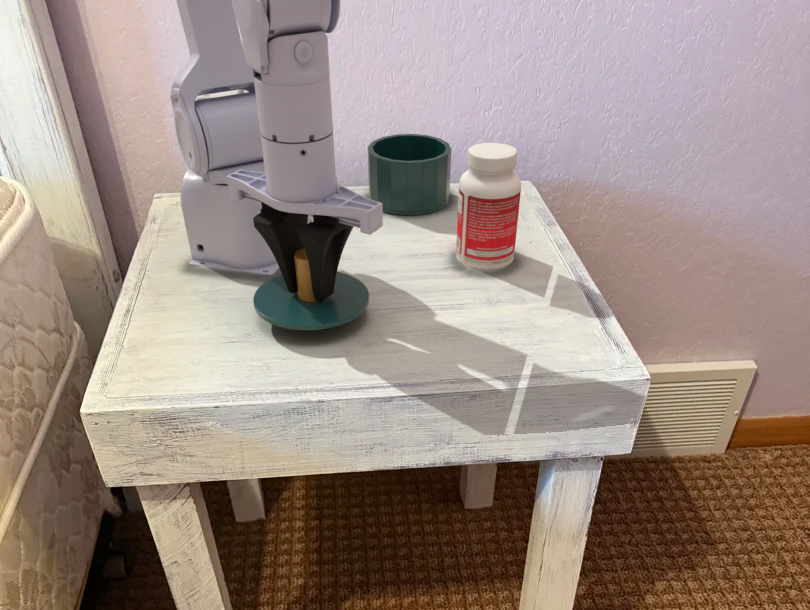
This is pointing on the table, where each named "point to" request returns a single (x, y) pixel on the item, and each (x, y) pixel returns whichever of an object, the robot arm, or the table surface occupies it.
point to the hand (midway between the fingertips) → (311, 292)
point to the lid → (310, 300)
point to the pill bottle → (488, 207)
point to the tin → (409, 173)
